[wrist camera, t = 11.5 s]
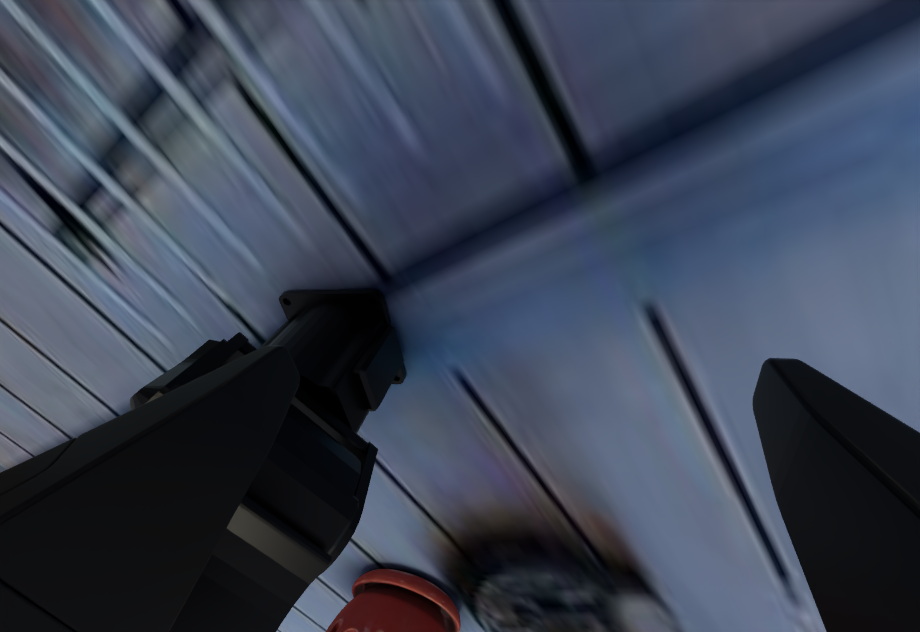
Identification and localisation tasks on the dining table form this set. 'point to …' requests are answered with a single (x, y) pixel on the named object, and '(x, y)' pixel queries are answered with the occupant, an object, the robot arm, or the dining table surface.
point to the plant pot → (396, 605)
